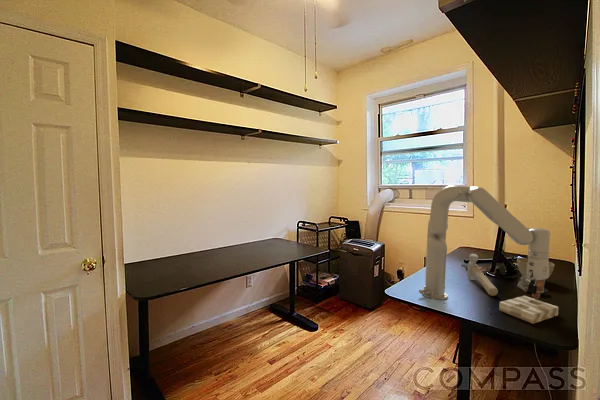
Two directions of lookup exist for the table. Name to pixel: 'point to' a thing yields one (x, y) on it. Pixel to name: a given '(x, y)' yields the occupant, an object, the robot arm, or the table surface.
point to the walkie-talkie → (478, 267)
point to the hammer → (480, 275)
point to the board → (528, 309)
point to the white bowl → (523, 266)
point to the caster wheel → (524, 286)
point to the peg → (538, 288)
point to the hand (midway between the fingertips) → (536, 291)
